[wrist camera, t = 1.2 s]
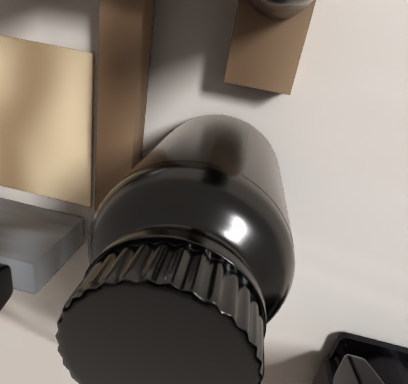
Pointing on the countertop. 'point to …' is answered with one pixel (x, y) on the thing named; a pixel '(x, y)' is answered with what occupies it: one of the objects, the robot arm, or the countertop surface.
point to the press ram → (279, 7)
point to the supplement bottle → (184, 264)
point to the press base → (100, 120)
